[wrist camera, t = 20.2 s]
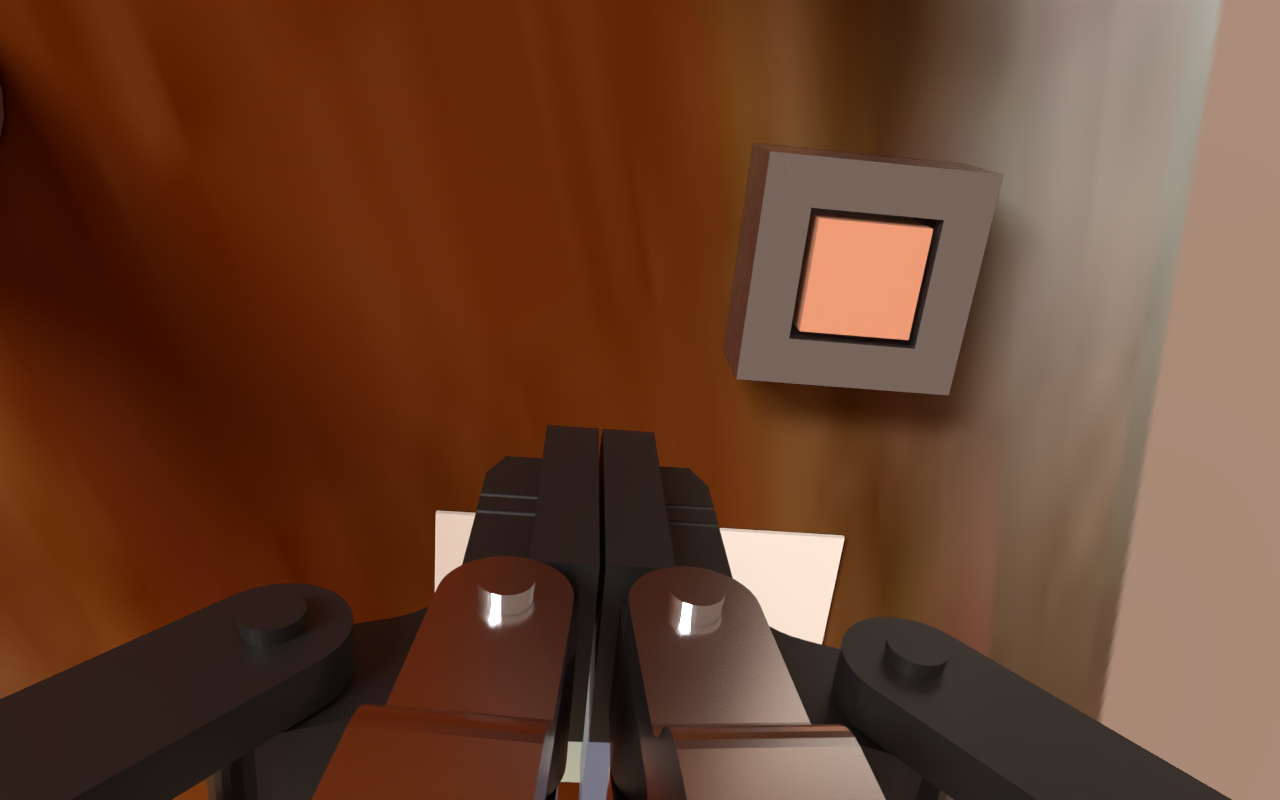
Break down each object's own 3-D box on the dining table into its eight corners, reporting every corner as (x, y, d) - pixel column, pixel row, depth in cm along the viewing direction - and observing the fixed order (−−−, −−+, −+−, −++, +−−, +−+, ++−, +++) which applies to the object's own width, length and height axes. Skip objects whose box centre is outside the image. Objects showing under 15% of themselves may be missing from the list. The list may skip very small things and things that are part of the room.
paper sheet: (433, 772, 51) (432, 777, 51) (436, 510, 44) (435, 513, 44) (789, 785, 53) (791, 790, 52) (843, 535, 46) (845, 539, 46)
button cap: (785, 312, 40) (799, 331, 38) (803, 207, 38) (819, 218, 36) (886, 321, 41) (908, 340, 38) (909, 217, 39) (933, 228, 36)
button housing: (723, 351, 42) (736, 379, 38) (753, 143, 38) (770, 151, 35) (917, 366, 43) (948, 395, 39) (964, 164, 39) (1003, 174, 35)
